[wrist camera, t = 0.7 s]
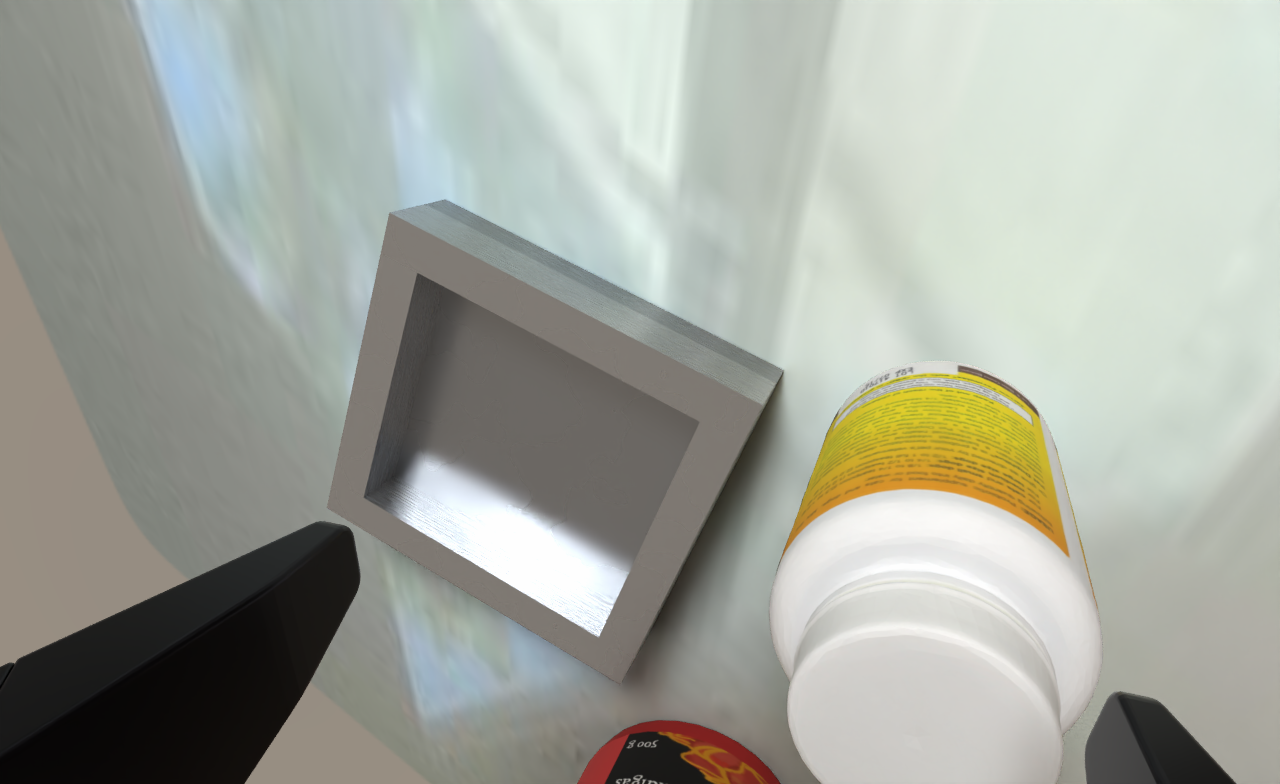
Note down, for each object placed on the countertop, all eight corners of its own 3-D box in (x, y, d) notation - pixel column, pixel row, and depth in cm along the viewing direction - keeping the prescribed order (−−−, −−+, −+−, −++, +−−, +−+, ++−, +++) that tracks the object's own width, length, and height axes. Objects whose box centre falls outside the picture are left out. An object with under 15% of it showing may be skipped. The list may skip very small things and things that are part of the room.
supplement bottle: (794, 395, 22) (677, 618, 13) (1007, 320, 19) (1046, 534, 10) (875, 568, 23) (819, 890, 14) (1088, 519, 20) (1190, 875, 11)
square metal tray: (783, 370, 21) (762, 405, 19) (649, 632, 26) (620, 684, 24) (445, 199, 23) (389, 212, 21) (377, 473, 28) (326, 507, 26)
